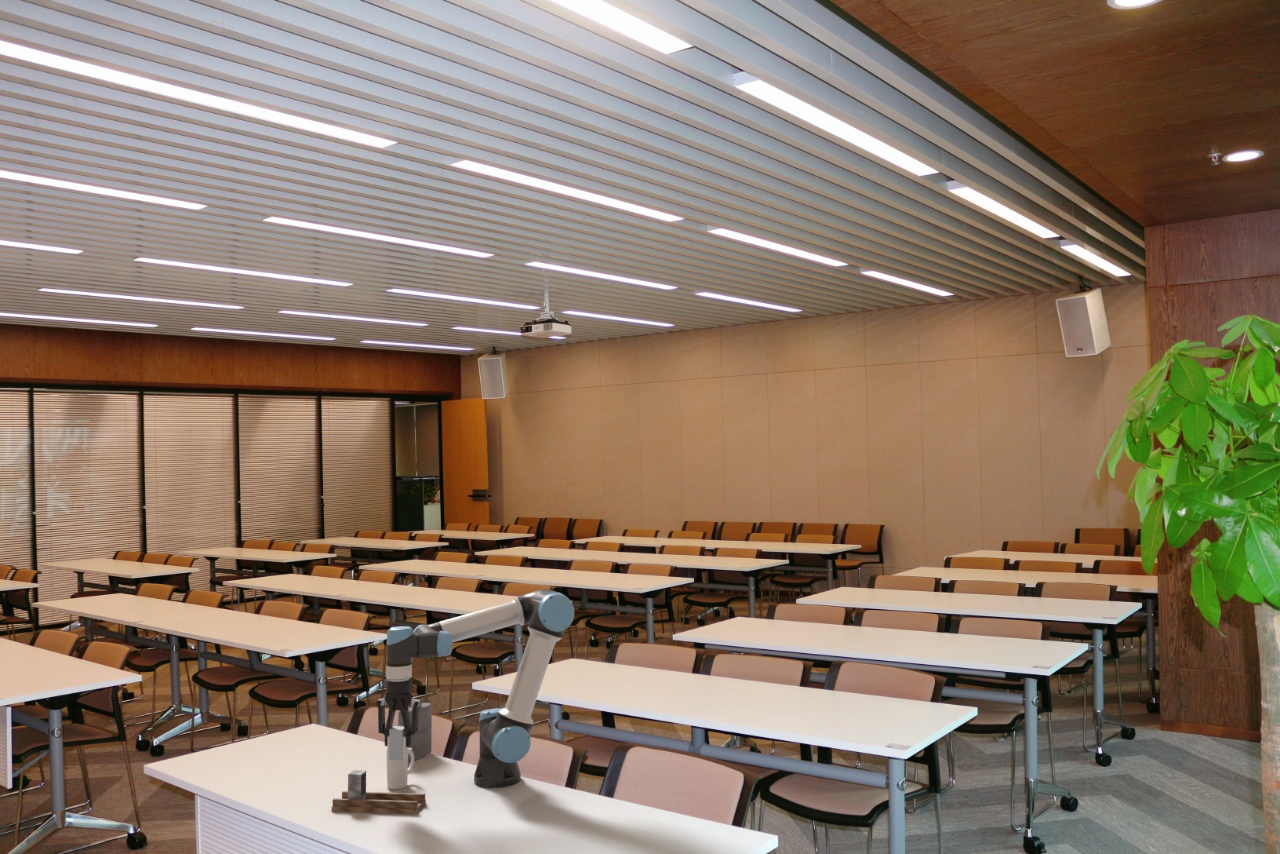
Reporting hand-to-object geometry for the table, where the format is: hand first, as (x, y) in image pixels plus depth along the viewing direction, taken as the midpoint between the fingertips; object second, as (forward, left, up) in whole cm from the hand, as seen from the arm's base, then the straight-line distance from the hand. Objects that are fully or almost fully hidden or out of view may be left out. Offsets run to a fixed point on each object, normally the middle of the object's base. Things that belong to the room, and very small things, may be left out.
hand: (397, 757), depth 288 cm
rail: (+6, 0, -15) cm, 16 cm away
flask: (+13, -51, -15) cm, 55 cm away
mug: (+7, -21, -15) cm, 27 cm away
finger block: (0, 0, 0) cm, 0 cm away
